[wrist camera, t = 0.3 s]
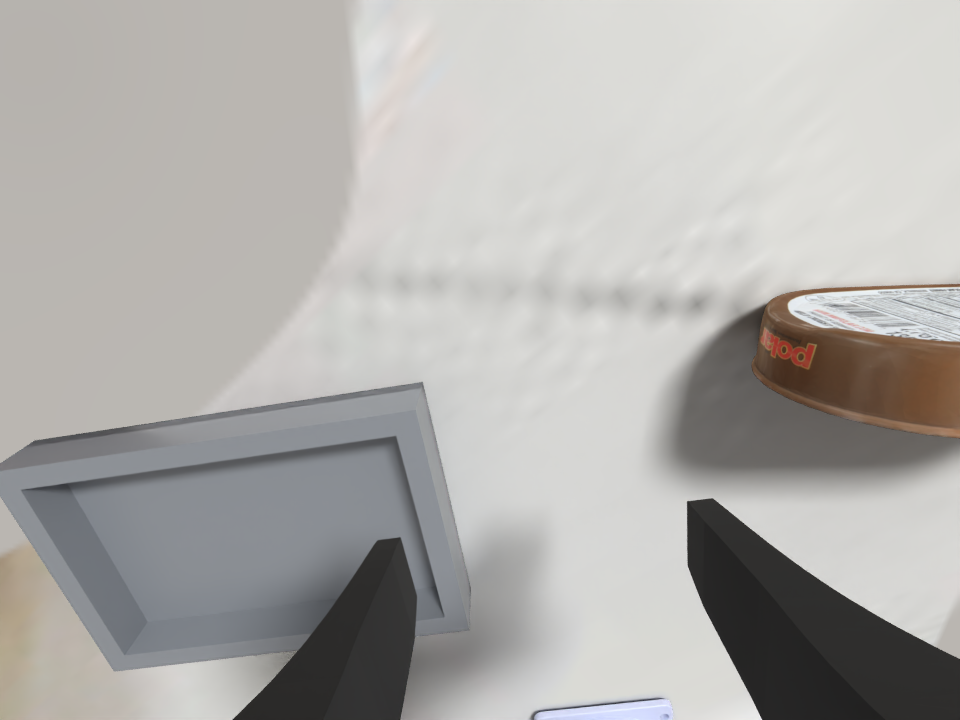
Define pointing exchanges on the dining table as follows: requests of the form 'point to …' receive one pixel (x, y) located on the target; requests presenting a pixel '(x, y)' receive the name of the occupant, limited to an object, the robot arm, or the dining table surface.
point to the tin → (868, 354)
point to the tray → (239, 523)
